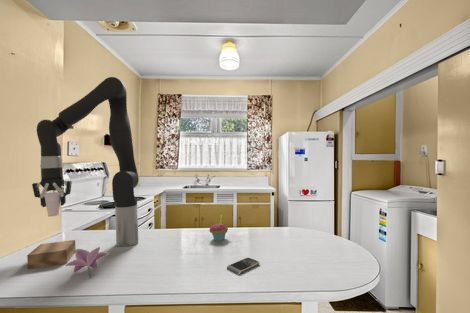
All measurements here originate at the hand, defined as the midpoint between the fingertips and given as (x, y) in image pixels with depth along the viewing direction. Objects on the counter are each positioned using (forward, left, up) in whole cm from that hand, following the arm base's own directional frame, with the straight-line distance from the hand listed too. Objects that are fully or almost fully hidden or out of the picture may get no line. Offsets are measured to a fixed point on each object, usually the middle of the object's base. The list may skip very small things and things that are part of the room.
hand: (53, 205), depth 105 cm
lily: (-18, +30, -20) cm, 40 cm away
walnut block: (-3, +11, -19) cm, 23 cm away
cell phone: (-69, +46, -20) cm, 86 cm away
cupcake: (-69, +15, -19) cm, 73 cm away
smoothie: (0, 0, -4) cm, 4 cm away
